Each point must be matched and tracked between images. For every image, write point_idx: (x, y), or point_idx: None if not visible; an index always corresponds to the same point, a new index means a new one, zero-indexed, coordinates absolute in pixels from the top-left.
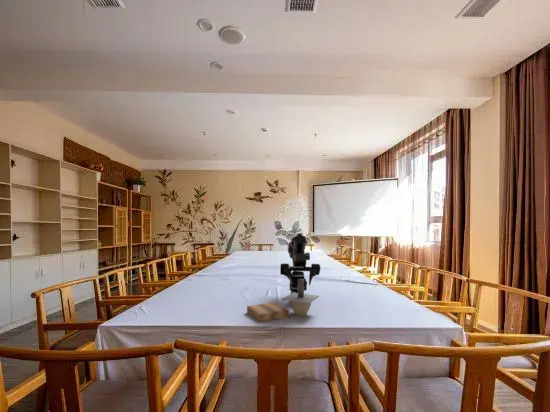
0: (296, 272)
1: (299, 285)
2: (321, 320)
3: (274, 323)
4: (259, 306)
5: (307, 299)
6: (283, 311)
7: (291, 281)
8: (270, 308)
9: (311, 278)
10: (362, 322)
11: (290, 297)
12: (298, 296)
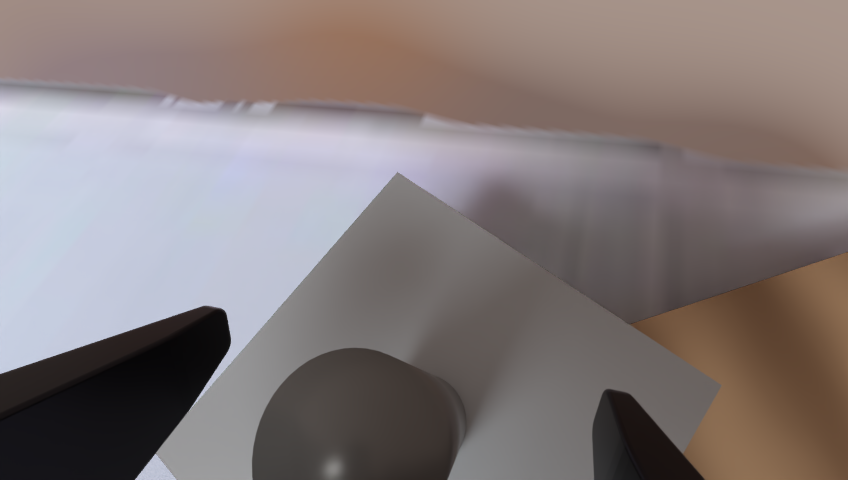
0: None
1: (432, 379)
2: (334, 235)
3: (704, 218)
4: None
5: (376, 281)
6: (641, 321)
7: (661, 434)
8: (804, 442)
9: (44, 359)
10: (115, 172)
11: (579, 424)
12: (460, 401)
